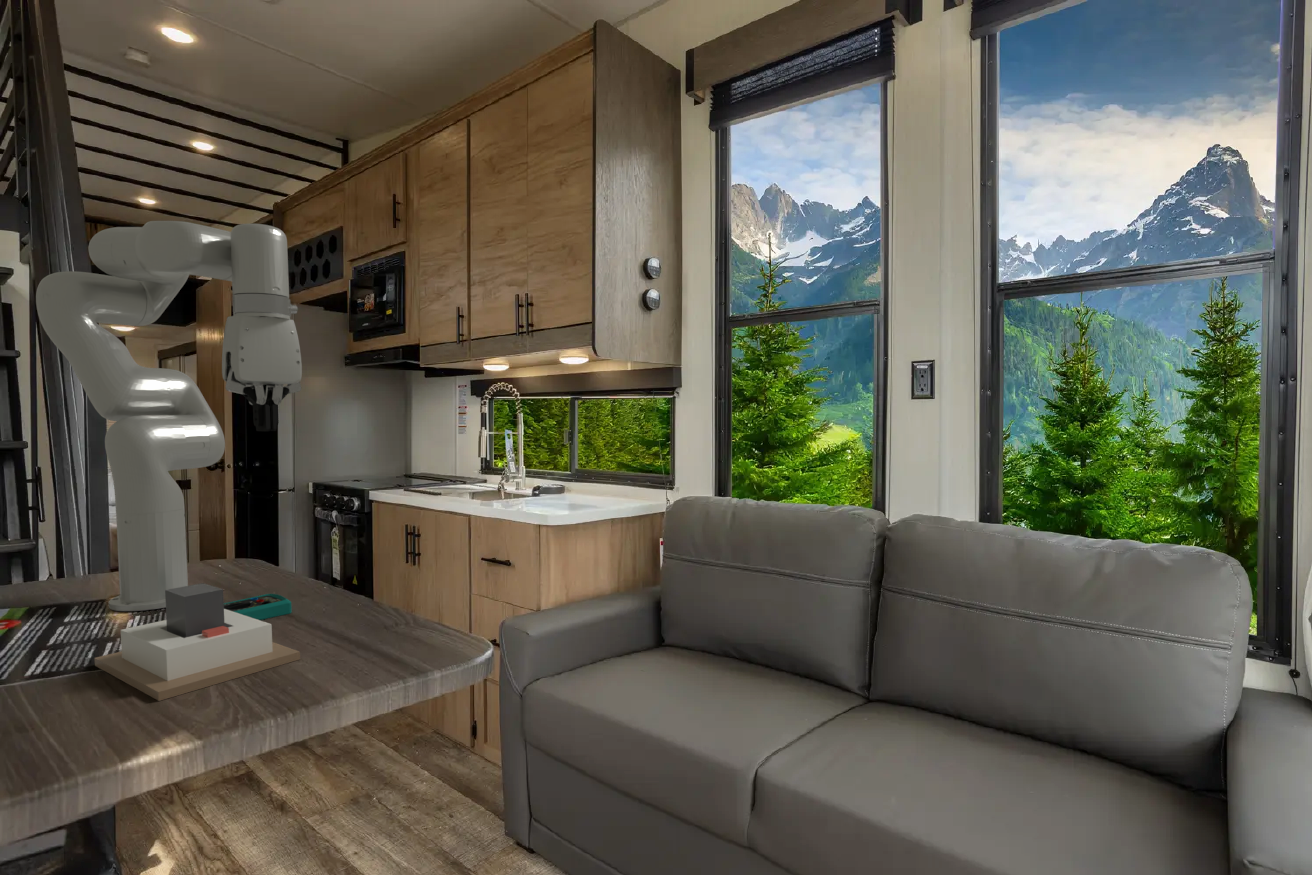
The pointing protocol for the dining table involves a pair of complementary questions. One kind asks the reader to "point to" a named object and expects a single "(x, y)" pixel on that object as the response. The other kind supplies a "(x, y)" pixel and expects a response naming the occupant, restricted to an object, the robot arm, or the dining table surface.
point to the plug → (194, 609)
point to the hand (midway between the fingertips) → (266, 430)
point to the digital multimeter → (261, 606)
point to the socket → (194, 656)
